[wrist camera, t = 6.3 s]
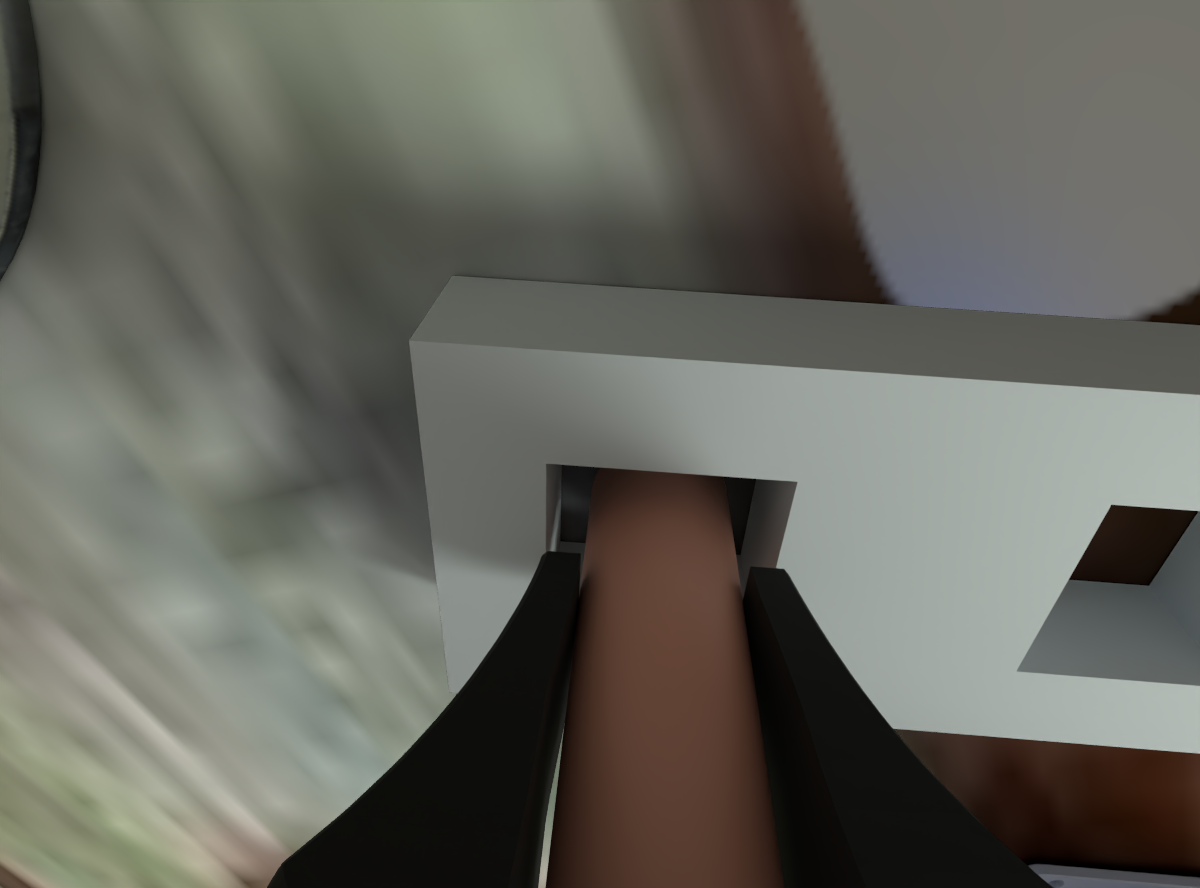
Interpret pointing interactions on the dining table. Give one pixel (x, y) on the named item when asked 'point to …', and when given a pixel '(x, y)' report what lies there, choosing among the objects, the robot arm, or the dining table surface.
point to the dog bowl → (17, 125)
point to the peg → (662, 700)
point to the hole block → (846, 482)
